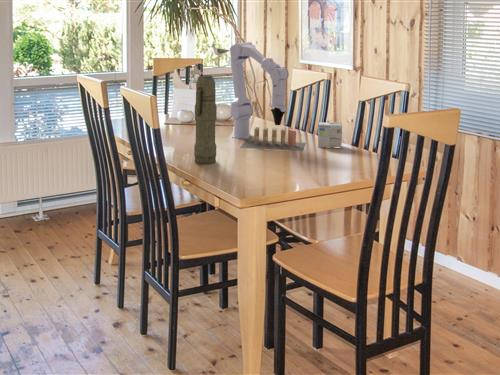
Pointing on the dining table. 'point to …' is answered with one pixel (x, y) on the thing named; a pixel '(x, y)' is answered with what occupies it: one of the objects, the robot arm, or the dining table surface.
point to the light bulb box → (329, 134)
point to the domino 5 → (291, 137)
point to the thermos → (205, 120)
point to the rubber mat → (269, 146)
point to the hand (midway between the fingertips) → (277, 124)
